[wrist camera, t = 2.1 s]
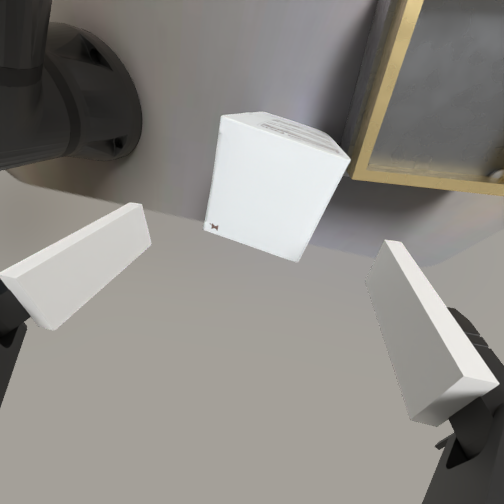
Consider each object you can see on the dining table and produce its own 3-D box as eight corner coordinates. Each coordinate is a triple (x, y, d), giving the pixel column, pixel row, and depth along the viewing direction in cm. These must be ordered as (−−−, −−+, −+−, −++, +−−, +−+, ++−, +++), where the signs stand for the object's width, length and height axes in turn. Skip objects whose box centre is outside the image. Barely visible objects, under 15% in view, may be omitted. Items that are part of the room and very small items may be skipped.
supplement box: (301, 200, 33) (297, 268, 19) (243, 181, 33) (200, 234, 19) (331, 131, 27) (356, 158, 14) (261, 108, 27) (218, 111, 14)
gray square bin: (335, 164, 29) (344, 183, 22) (382, -18, 20) (425, -87, 13) (467, 177, 27) (527, 204, 20) (587, -19, 18) (780, -104, 11)
